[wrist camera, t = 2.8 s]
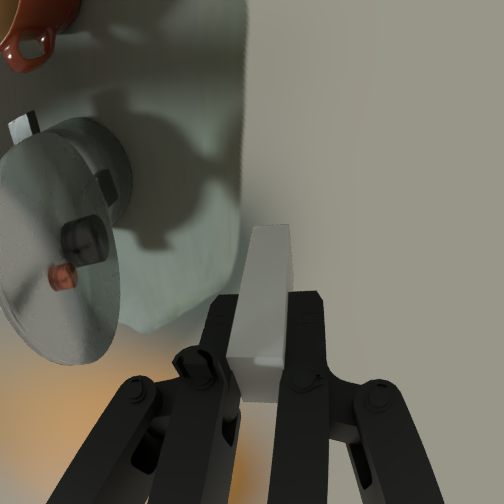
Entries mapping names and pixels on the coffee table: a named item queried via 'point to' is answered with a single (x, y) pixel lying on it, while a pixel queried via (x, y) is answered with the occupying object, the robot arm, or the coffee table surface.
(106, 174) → the pot
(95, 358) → the lid
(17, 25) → the mug
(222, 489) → the robot arm
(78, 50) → the coffee table surface
